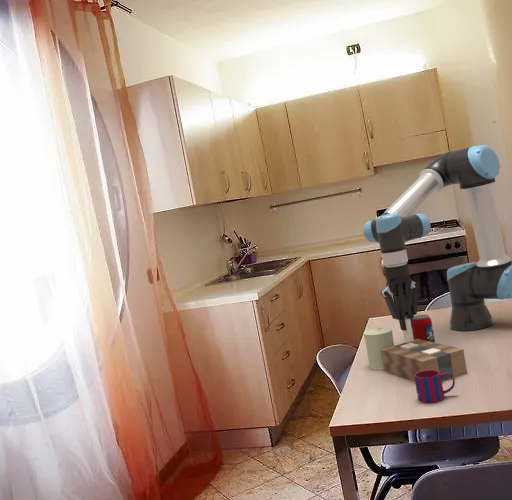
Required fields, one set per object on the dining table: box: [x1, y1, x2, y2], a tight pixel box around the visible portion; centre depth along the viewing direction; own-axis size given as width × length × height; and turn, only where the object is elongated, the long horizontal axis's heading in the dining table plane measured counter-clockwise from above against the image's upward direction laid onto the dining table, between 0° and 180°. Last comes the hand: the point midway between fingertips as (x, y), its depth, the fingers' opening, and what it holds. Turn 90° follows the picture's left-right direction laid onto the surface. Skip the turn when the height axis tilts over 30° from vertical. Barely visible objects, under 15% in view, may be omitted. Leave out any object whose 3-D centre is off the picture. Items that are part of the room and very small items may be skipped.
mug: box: [414, 370, 456, 404], centre depth 163 cm, size 7×10×7 cm
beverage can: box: [412, 314, 436, 343], centre depth 207 cm, size 7×7×12 cm
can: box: [363, 326, 395, 371], centre depth 200 cm, size 9×9×12 cm
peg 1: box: [400, 343, 419, 350], centre depth 191 cm, size 4×4×7 cm
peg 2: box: [422, 348, 441, 356], centre depth 181 cm, size 4×4×7 cm
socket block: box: [381, 339, 468, 383], centre depth 186 cm, size 22×14×7 cm, turn 21°
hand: (409, 339), depth 191 cm, fingers closed
